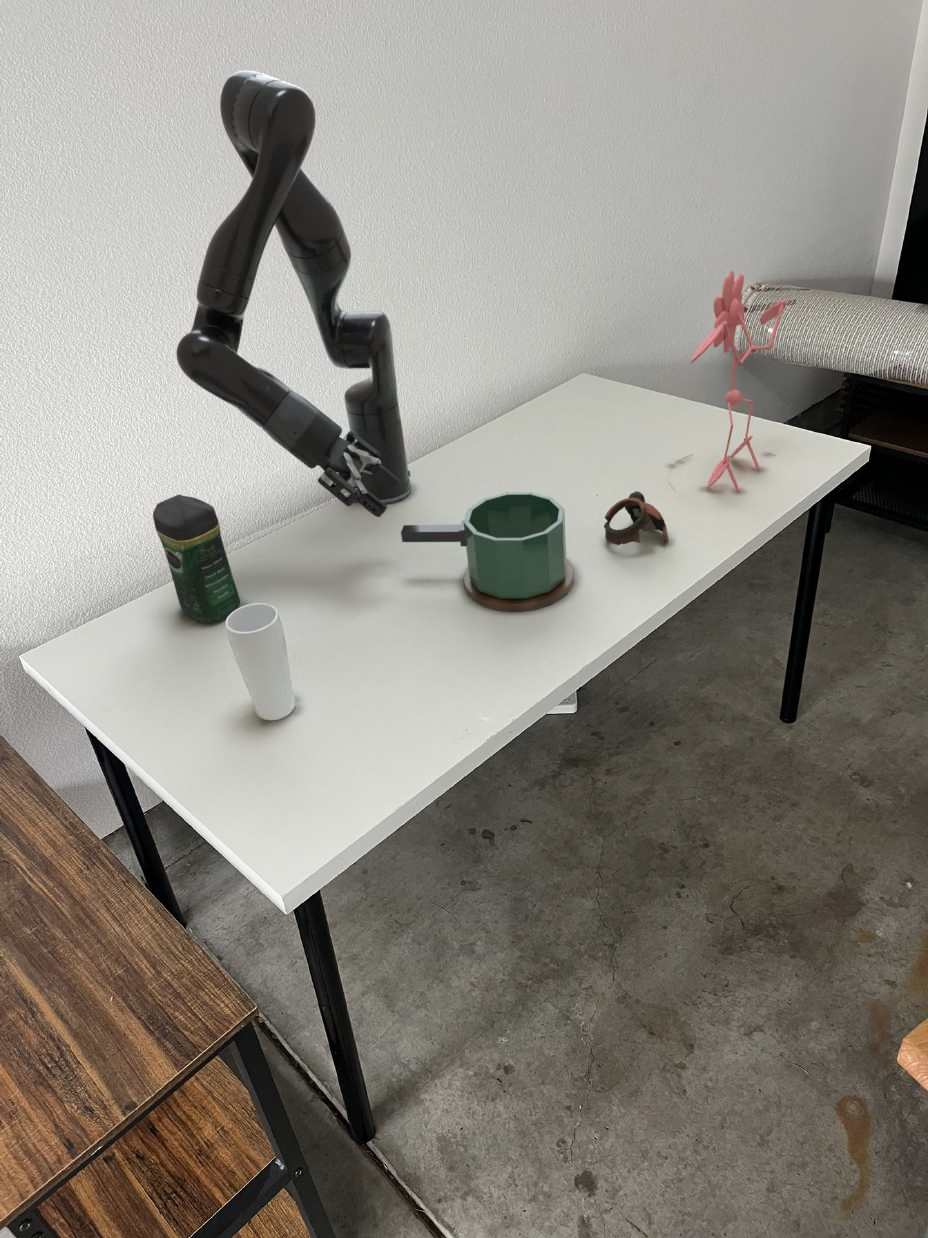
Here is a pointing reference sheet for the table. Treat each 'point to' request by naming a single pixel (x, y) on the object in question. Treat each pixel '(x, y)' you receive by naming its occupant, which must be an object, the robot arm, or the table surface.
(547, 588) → the pot
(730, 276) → the figurine
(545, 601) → the disc
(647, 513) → the brown ring-shaped piece
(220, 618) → the coffee jar
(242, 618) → the drinking glass
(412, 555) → the table surface
